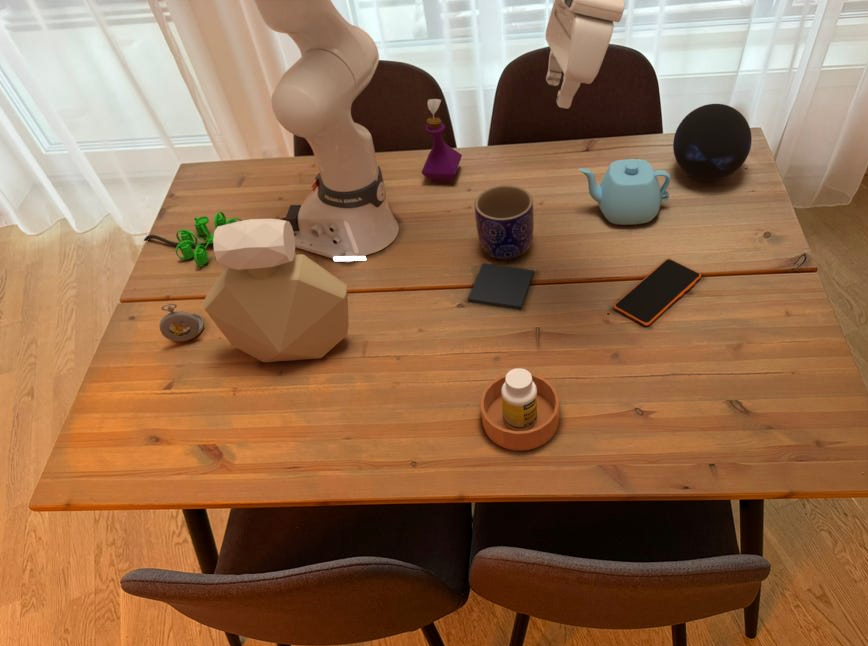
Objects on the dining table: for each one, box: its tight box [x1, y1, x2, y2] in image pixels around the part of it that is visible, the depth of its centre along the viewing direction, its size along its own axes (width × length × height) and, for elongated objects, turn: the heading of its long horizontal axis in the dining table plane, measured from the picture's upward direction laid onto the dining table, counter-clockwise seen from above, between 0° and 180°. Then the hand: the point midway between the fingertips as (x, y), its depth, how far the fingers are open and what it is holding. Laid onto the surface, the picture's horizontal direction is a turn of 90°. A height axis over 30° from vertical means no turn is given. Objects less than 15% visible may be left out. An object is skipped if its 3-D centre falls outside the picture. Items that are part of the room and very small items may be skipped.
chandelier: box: [175, 211, 243, 267], centre depth 153 cm, size 15×15×7 cm
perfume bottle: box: [421, 98, 463, 183], centre depth 158 cm, size 8×8×18 cm
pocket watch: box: [159, 303, 205, 342], centre depth 135 cm, size 7×8×10 cm
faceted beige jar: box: [202, 218, 349, 363], centre depth 123 cm, size 12×24×28 cm, turn 91°
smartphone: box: [613, 258, 702, 327], centre depth 134 cm, size 8×17×1 cm, turn 135°
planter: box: [474, 184, 535, 261], centre depth 142 cm, size 11×11×11 cm
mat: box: [467, 263, 535, 310], centre depth 139 cm, size 10×10×1 cm
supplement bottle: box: [501, 367, 537, 430], centre depth 114 cm, size 5×5×10 cm
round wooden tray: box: [480, 372, 560, 452], centre depth 117 cm, size 12×12×4 cm
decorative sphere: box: [672, 103, 753, 182], centre depth 151 cm, size 15×15×15 cm
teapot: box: [578, 158, 671, 226], centre depth 147 cm, size 13×11×18 cm
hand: (556, 94), depth 104 cm, fingers open, 8 cm apart
